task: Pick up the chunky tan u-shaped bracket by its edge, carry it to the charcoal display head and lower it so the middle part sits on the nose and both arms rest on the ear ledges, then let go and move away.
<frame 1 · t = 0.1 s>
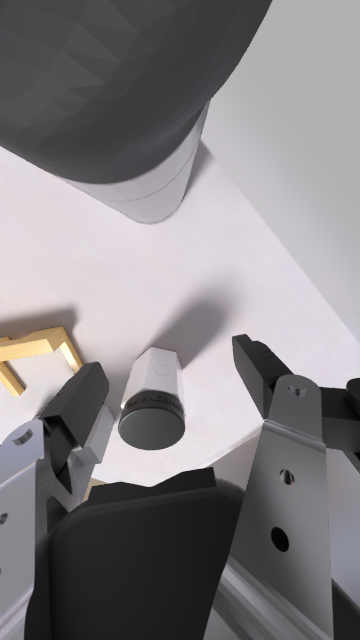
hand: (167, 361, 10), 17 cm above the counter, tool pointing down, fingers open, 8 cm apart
tan u-shaped bracket: (24, 339, 28), on the counter
display head: (59, 392, 33), on the counter
jar: (158, 365, 32), on the counter
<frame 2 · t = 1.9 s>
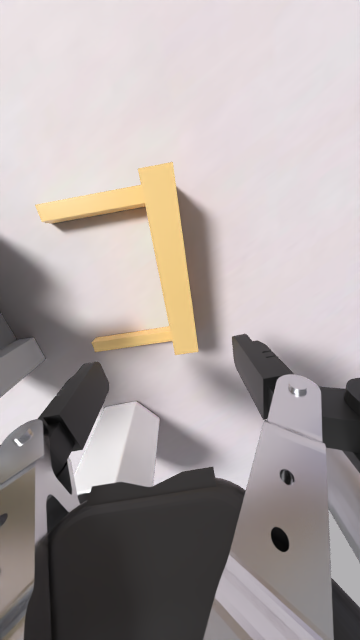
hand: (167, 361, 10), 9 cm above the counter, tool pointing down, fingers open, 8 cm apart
tan u-shaped bracket: (174, 271, 17), on the counter
display head: (58, 290, 18), on the counter
jar: (130, 421, 25), on the counter
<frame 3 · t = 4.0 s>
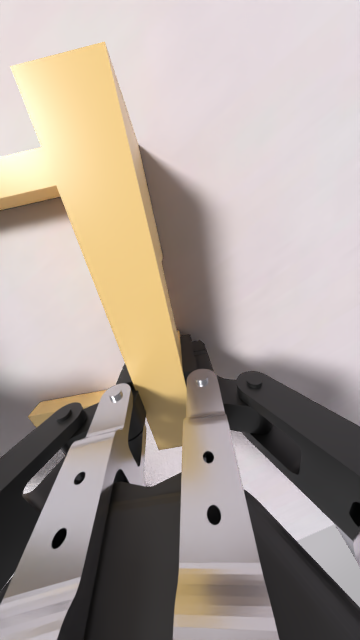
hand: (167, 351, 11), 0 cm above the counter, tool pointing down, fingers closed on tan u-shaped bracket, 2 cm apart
tan u-shaped bracket: (153, 301, 10), on the counter, touching gripper
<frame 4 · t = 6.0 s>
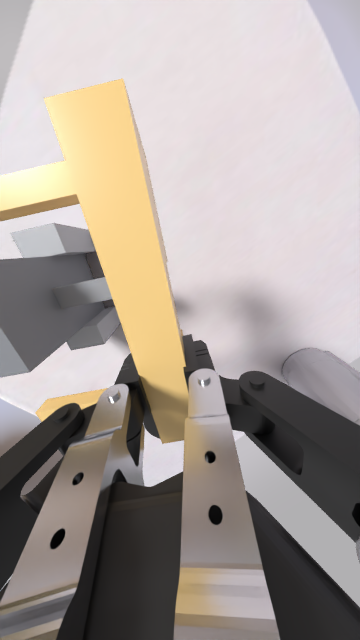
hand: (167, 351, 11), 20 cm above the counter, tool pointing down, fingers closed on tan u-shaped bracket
tan u-shaped bracket: (157, 301, 11), point 19 cm above the counter, touching gripper
display head: (135, 274, 28), on the counter
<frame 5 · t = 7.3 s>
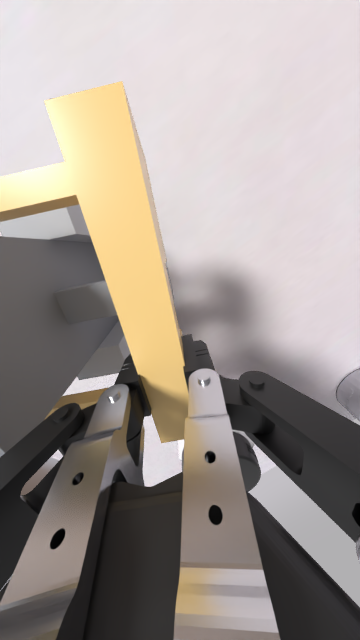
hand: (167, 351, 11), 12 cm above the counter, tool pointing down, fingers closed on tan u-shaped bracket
tan u-shaped bracket: (157, 301, 11), point 11 cm above the counter, touching gripper
display head: (165, 271, 21), on the counter
jar: (203, 390, 29), on the counter
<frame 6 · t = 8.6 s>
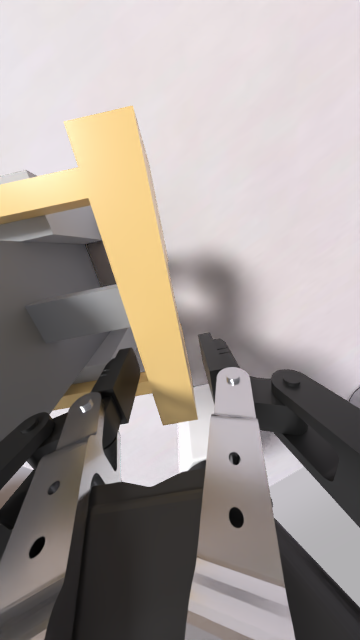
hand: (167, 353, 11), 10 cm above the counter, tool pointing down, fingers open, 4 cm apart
tan u-shaped bracket: (159, 297, 12), point 8 cm above the counter, touching display head
display head: (163, 275, 19), on the counter
jar: (205, 402, 27), on the counter
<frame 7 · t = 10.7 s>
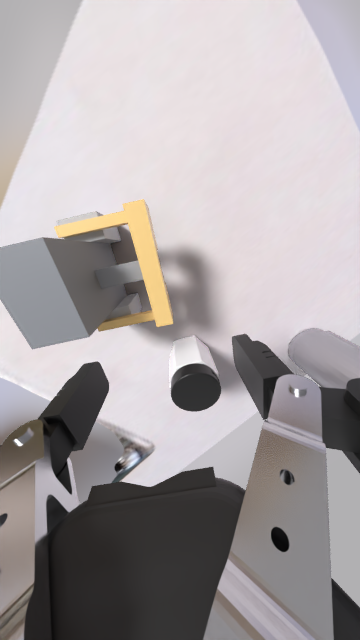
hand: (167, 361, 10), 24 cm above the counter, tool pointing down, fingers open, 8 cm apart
tan u-shaped bracket: (154, 268, 24), point 8 cm above the counter, touching display head
display head: (156, 262, 31), on the counter
jar: (188, 351, 39), on the counter
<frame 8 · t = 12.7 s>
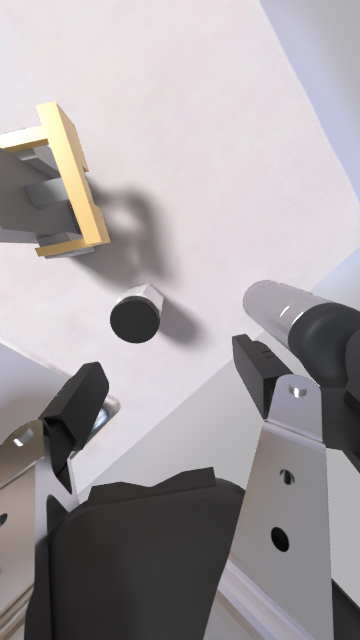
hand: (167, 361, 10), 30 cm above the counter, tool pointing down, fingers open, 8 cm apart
tan u-shaped bracket: (87, 191, 25), point 8 cm above the counter, touching display head
display head: (105, 203, 32), on the counter
jar: (145, 301, 40), on the counter
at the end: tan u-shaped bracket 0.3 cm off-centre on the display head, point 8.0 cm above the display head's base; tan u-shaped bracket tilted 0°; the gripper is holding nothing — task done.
